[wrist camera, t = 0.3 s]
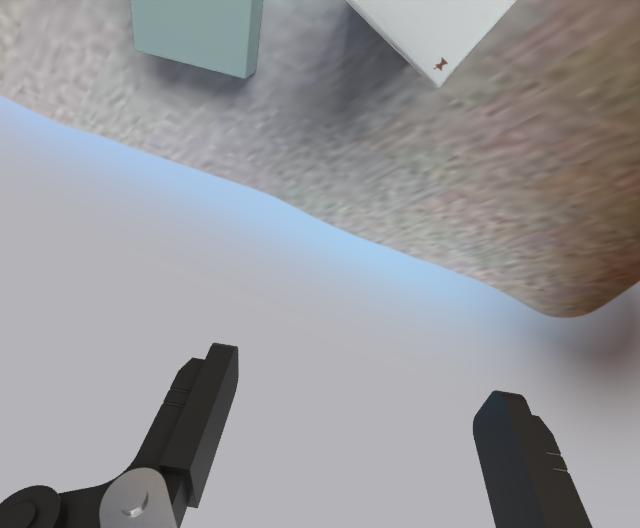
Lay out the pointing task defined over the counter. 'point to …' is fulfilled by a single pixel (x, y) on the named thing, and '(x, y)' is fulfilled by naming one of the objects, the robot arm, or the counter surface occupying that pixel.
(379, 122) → the counter surface
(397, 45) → the supplement box
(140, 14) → the pedestal block
